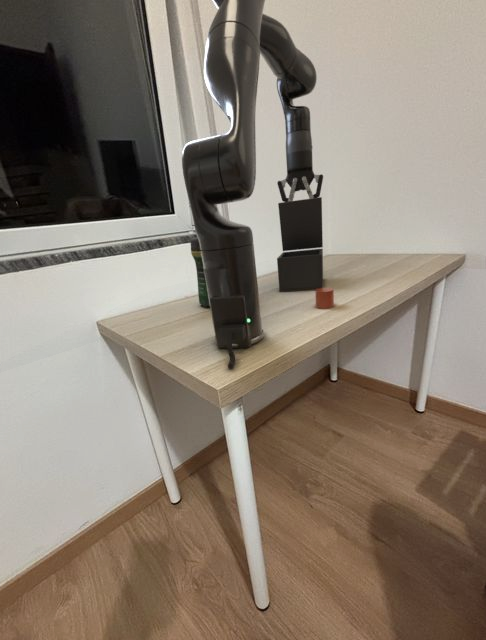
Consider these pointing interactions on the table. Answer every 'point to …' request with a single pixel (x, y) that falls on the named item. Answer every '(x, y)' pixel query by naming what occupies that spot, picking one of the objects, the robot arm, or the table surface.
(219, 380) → the table surface
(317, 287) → the black open box
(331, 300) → the red cylinder
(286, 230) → the lid
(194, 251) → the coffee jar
